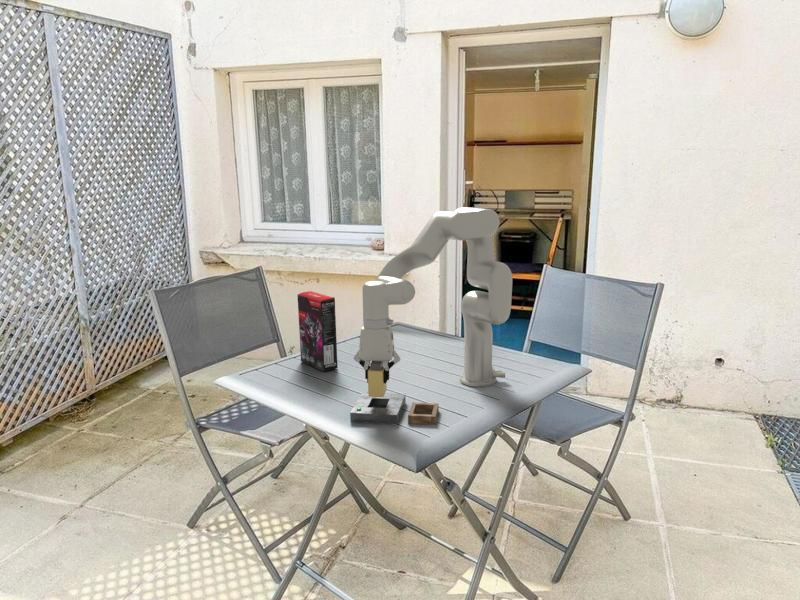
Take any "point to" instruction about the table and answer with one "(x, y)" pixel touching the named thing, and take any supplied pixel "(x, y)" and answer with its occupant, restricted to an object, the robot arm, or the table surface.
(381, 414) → the port
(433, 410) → the frame
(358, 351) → the robot arm
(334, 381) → the table surface
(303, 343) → the graphics card box
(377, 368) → the plug
